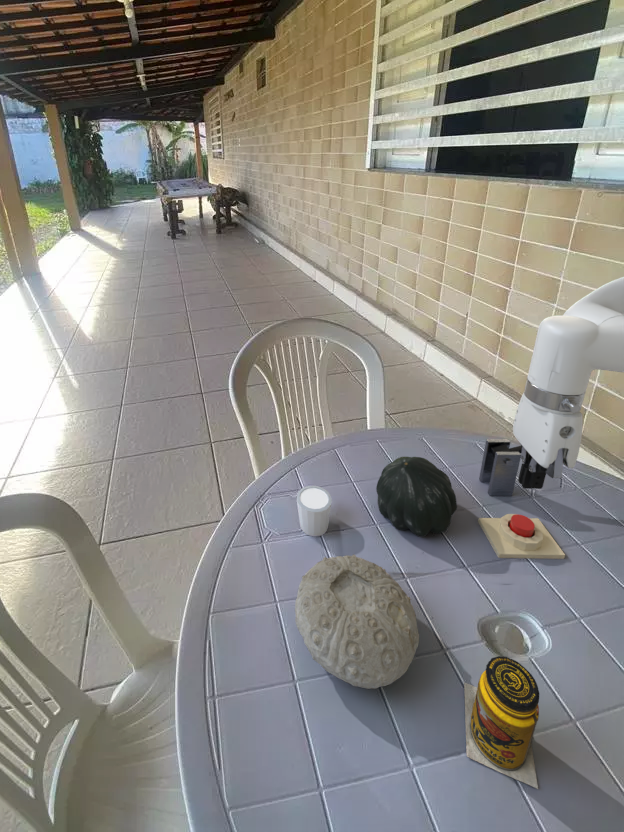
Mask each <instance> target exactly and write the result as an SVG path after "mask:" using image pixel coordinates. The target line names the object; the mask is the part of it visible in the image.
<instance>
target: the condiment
mask: <svg viewBox="0 0 624 832" xmlns="http://www.w3.org/2000/svg"><path fill="white" fill-rule="evenodd" d="M463 687H464V688H463V689H464V719H465V721H464V722H465V724H464V725H465V743H466V744H465V749H466V751H465V753H466V757H467V758H469V759H471V760H473V761H475V762H477V763H480V764H482V765H483V766H486V767H487V768H490V769H492V770H494V771H496V772H497V773H501V774H503V775H505V776H507V777H510V778H512V779H514V780H516V781H519V782H522V783H524V784H526V785H527V786H528V785H529V786H530V787H533V788H534V789H536V790H539V786H538V780H537V778H538V777H537V772H536V764H535V759H534V751H533V744H532V739H533V737H534V733H535V730H536V727H537V724H538V721H539V717H540V708H539V703H540V690H539V686H538V683H537V681H536V679H535V677H534V676H533V674H532V673H530V671H529V670H528V669H527V668H526V667H525V666H523V665H522V664H521V663H520V662H518V661H517V660H515V659H512V658H510V657H508V656H501V655H498V656H494V657H492V658H490V660H489V661H487V664H486V667H485V670H484V671H482V673H481V674H480V677H479V680H478V683H477V686H474V685H472V684H470V683H467V682H463Z"/></svg>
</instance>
